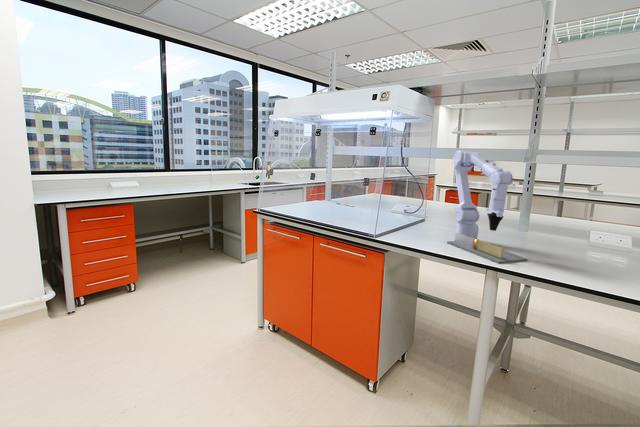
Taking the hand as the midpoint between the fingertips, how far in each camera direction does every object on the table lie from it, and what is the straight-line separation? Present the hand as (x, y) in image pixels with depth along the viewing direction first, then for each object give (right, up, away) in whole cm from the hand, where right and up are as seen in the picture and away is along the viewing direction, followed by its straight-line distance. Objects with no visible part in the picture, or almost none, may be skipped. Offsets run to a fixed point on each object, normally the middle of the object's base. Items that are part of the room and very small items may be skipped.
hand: (492, 230), depth 138 cm
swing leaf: (-5, -9, -6) cm, 12 cm away
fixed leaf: (-10, -8, +6) cm, 14 cm away
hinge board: (-3, -9, +1) cm, 10 cm away
